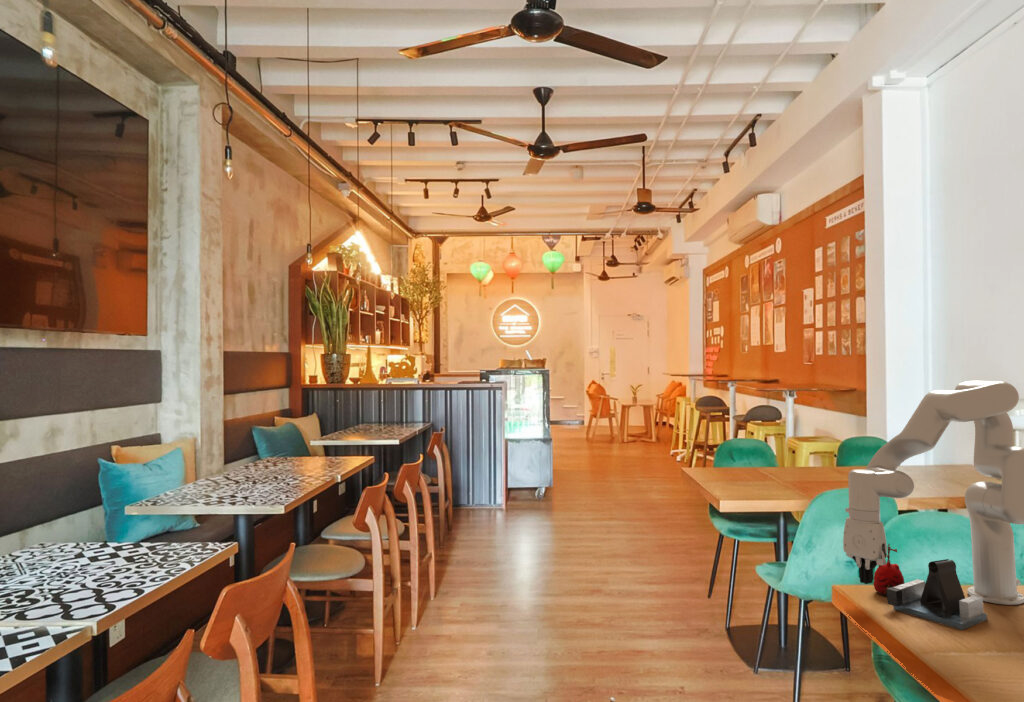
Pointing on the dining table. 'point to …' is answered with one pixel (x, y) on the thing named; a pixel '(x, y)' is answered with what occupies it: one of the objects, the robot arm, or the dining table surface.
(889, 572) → the red clay folk toy
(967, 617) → the dark grey base plate
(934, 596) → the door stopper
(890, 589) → the block
